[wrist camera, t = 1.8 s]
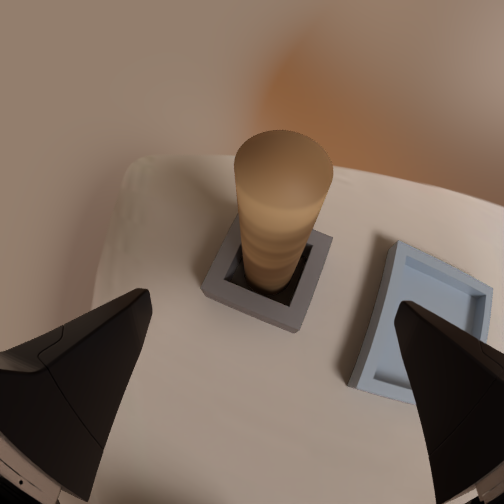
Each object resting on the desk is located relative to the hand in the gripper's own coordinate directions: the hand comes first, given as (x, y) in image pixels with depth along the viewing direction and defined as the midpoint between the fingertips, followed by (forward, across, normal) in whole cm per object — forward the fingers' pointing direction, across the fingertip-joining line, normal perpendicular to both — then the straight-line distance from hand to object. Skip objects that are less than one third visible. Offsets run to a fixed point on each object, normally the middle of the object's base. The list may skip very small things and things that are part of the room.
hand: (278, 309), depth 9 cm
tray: (+8, -14, +8) cm, 18 cm away
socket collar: (+12, 0, +5) cm, 13 cm away
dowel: (+12, 0, +5) cm, 13 cm away
